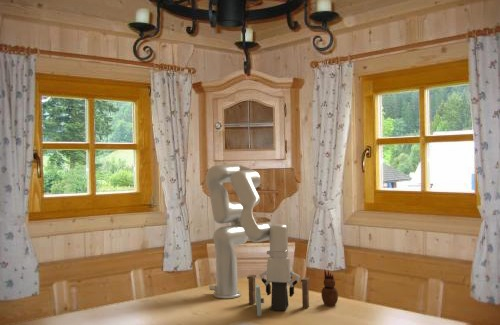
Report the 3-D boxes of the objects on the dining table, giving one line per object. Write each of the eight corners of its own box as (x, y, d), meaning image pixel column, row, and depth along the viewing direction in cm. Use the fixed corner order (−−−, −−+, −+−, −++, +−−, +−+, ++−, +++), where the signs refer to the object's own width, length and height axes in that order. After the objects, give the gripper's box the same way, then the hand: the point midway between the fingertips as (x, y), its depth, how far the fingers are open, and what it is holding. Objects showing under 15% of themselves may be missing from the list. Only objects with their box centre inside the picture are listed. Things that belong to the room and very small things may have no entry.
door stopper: (285, 311, 212) (284, 282, 212) (270, 310, 213) (270, 281, 213) (288, 305, 221) (287, 277, 220) (274, 304, 222) (274, 276, 222)
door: (256, 303, 223) (255, 284, 222) (262, 303, 223) (262, 284, 223) (257, 316, 204) (257, 295, 204) (264, 316, 204) (263, 295, 204)
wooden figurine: (319, 305, 220) (318, 269, 219) (327, 302, 224) (326, 267, 224) (332, 307, 215) (331, 271, 215) (340, 304, 219) (339, 269, 219)
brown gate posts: (247, 304, 223) (247, 276, 223) (250, 302, 227) (250, 274, 227) (308, 308, 214) (307, 279, 214) (310, 306, 218) (309, 277, 218)
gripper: (256, 255, 216) (257, 296, 216) (297, 256, 210) (298, 299, 210) (262, 251, 223) (263, 291, 223) (301, 253, 217) (302, 294, 217)
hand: (280, 295), depth 217 cm, fingers open, 9 cm apart
